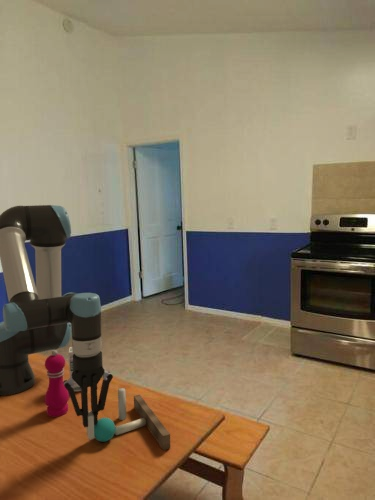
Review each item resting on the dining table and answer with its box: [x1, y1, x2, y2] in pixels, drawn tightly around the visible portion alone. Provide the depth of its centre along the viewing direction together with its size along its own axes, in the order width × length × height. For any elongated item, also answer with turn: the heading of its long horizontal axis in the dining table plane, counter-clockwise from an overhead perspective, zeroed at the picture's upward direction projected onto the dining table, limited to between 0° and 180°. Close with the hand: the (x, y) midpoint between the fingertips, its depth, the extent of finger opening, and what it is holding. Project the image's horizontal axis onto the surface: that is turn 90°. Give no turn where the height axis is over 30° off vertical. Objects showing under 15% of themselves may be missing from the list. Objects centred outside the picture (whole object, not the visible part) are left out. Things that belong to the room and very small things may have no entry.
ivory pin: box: [114, 417, 147, 436], centre depth 111 cm, size 2×2×9 cm
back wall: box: [133, 394, 171, 451], centre depth 113 cm, size 24×2×4 cm, turn 26°
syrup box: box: [68, 346, 81, 393], centre depth 136 cm, size 6×6×14 cm
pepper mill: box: [44, 350, 70, 418], centre depth 120 cm, size 7×7×20 cm
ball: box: [94, 417, 116, 443], centre depth 106 cm, size 6×6×6 cm
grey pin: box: [117, 387, 127, 421], centre depth 117 cm, size 2×2×9 cm
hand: (90, 436), depth 105 cm, fingers closed
